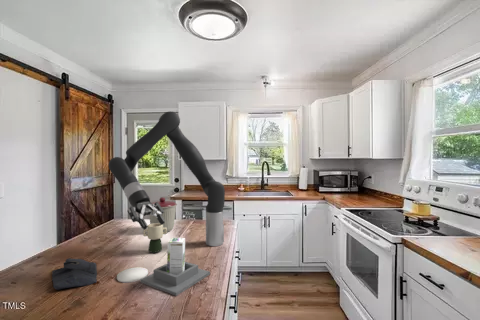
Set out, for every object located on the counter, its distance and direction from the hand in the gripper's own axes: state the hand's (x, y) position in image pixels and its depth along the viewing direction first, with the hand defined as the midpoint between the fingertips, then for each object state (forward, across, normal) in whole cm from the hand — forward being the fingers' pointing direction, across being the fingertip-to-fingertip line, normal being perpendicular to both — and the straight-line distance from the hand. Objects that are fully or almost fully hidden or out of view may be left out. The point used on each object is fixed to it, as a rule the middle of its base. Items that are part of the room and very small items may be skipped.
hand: (155, 225), depth 100 cm
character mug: (+1, +15, +25) cm, 29 cm away
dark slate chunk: (-3, -19, +30) cm, 35 cm away
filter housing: (+21, 0, +5) cm, 22 cm away
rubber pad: (+10, -7, +16) cm, 20 cm away
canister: (-17, +42, +43) cm, 62 cm away
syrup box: (+21, 0, +5) cm, 22 cm away
